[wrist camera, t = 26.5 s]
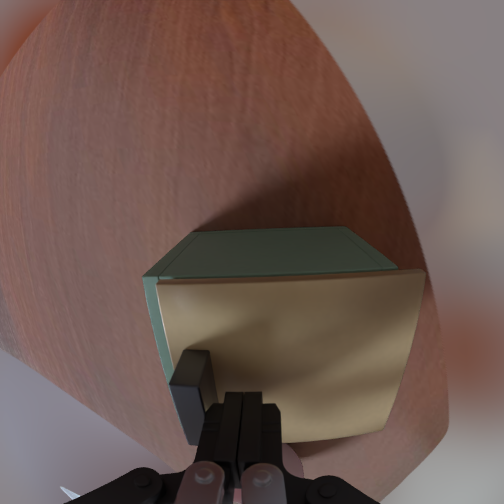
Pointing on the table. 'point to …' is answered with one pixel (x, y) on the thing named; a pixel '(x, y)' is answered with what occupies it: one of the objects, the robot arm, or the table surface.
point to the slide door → (293, 347)
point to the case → (258, 262)
